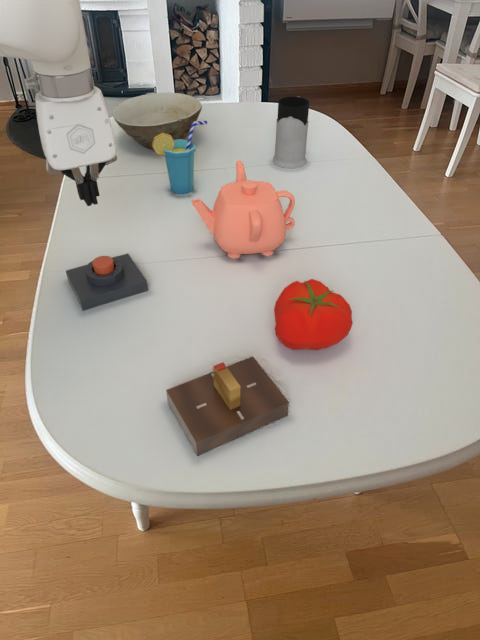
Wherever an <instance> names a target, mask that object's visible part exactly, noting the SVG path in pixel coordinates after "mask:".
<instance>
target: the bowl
mask: <svg viewBox="0 0 480 640" xmlns="http://www.w3.org/2000/svg"><path fill="white" fill-rule="evenodd" d="M202 108H203V105H202V103H201V101H200V100H199V99H197V98H196V97H194V96H192V95H188V94H184V93H180V92H154V93H145V94H141V95H137V96H134V97H131V98H128V99H124V100H123V101H121V102H120V103H119V104H117V105H116V106H115V108H114V109H113V111H112V118H113V119H114V121H115V122H116V124H117V125H118V126H119V128H121V129H122V130H123V131H124V133H126V134H127V135H128V136H130V137H131V138H132V140H135V141H136V142H137V143H138V144H139V145H142V146H143V147H145V148H148V149H151V150H154V149H153V147H152V143H153V140H154V137H156V136H158V135H159V134H161V133H165V134H169V135H171V136H172V138H173V140H177V139H184V140H186V138H187V137H188V136H189V132H190V128H191V125H192V123H193V122H194V121H198V118H199V116H200V114H201V112H202V110H203V109H202Z"/></svg>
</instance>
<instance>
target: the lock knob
mask: <svg viewBox="0 0 480 640" xmlns="http://www.w3.org/2000/svg"><path fill="white" fill-rule="evenodd" d="M212 372H213V376H214V387H215V388H216V390H217V391H218V393H219V394H220V396H221V397H222V399H223V400H224V402H225V403H226V405H227V406H228V408H229V409H230V410H232V409H234V408H237V407H239V406H240V392H241V386H240V385H239V384H238V382H237V381H236V379H235V378H234V377H233V375H232V374H231V372H230V371H229V370H228V368H227V365H226V363H224V362H219V363H217V364H215V365H212Z"/></svg>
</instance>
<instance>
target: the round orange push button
mask: <svg viewBox="0 0 480 640" xmlns="http://www.w3.org/2000/svg"><path fill="white" fill-rule="evenodd" d="M111 257H112V256H108V255H100V256H97V257H95V258H94V259H92V261H93V262H92V261H91V262H92V264H93V268H94V272H95V273H96V274H98V275H105V274H108V273H111V272H112V271H114V263H113V259H112V258H111Z"/></svg>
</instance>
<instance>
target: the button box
mask: <svg viewBox="0 0 480 640" xmlns="http://www.w3.org/2000/svg"><path fill="white" fill-rule="evenodd" d="M110 257H111V258H112V259H113V263H114V271H112V272H111V273H108V274H105V275H98V274H96V273H95V272H94V268H93V264H92V262H93V260H91V261H90V262H89V263H87V264H84V265H81V266H77V267H73V268H69V269H67V270H65V274H66V278H67V281H68V283H69V285H70V288H71V289H72V292H73V293H74V295H75V298H76V299H77V301H78V304H79V306H80V307H81V310H82V311H87V310H90V309H93V308H96V307H99V306H103V305H106V304H109V303H112V302H113V303H114V302H116V301H119V300H122V299H126V298H129V297H132V296H134V295H135V296H136V295H138V294H141V293H144V292H147V291H149V288H148V281H147V279H146V278H145V276H144V275H143V273H142V272H141V270H140V269H139V267H138V265H137V264H136V263H135V262H134V260H133V258H132V257H131V255H130V254H129V253H123V254H120V255H117V256H113V257H112V256H110Z"/></svg>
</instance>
